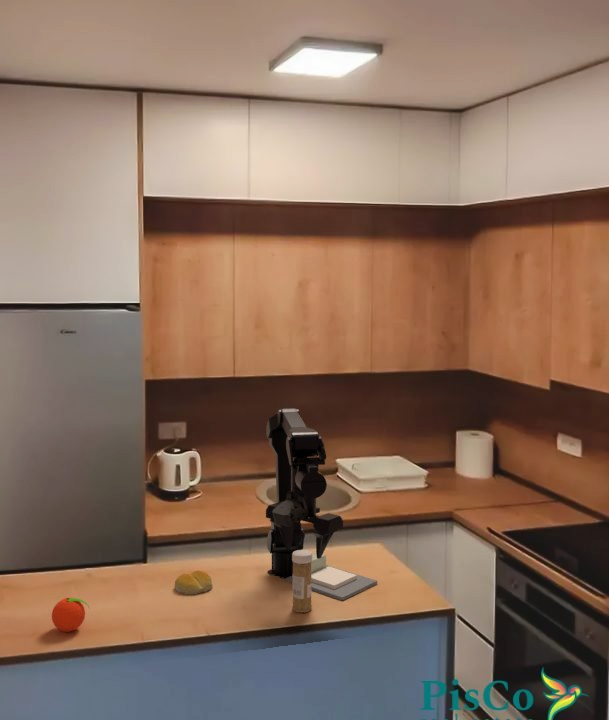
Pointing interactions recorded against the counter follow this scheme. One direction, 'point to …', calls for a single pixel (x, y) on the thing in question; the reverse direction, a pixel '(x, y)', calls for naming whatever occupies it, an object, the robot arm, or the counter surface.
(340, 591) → the board
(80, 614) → the clementine
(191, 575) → the bread roll
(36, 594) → the counter surface
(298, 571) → the sprinkles bottle
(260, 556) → the counter surface
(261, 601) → the counter surface
